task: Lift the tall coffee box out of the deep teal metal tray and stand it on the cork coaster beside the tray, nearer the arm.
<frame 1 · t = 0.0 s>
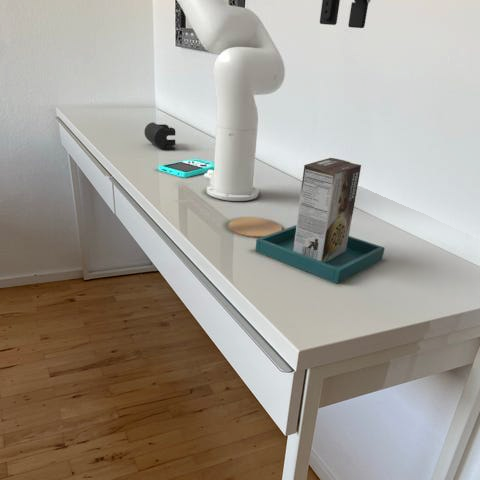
hand: (342, 26, 92), 37 cm above the table, tool pointing down, fingers open, 9 cm apart
tray: (318, 255, 93), on the table
handheld game console: (190, 170, 141), on the table
coffee box: (319, 254, 93), resting on tray
end cap: (159, 147, 164), on the table
coaster: (255, 227, 104), on the table
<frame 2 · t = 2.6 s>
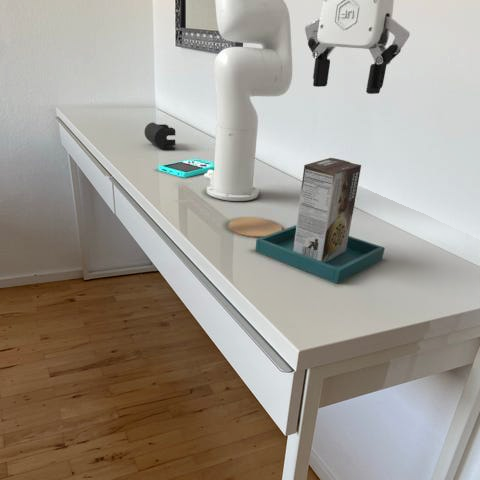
hand: (345, 89, 80), 28 cm above the table, tool pointing down, fingers open, 9 cm apart
nothing on the table moved.
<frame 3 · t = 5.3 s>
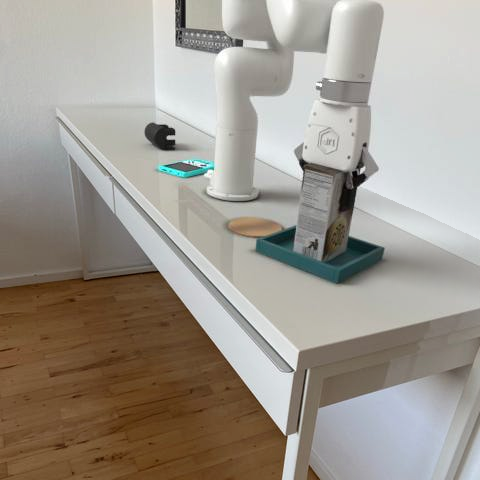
hand: (327, 203, 88), 10 cm above the table, tool pointing down, fingers closed on coffee box, 6 cm apart
coffee box: (319, 254, 93), resting on tray, touching gripper
everything else where it was.
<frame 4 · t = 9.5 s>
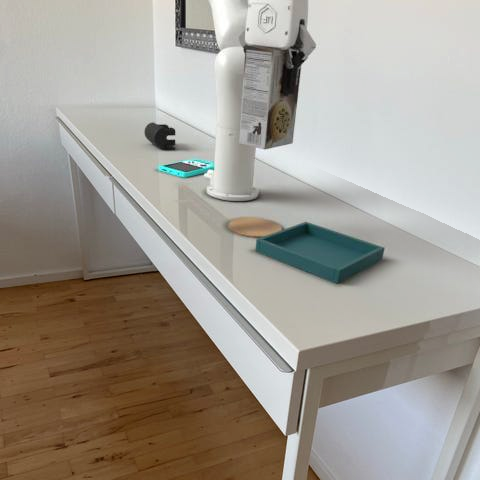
hand: (271, 90, 90), 26 cm above the table, tool pointing down, fingers closed on coffee box, 6 cm apart
coffee box: (265, 145, 95), point 16 cm above the table, touching gripper
everything else where it was.
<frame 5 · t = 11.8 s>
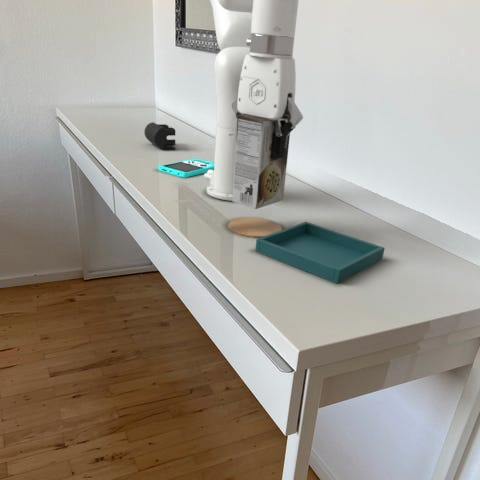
hand: (262, 153, 96), 15 cm above the table, tool pointing down, fingers closed on coffee box, 6 cm apart
coffee box: (257, 202, 101), point 5 cm above the table, touching gripper
everything else where it was.
when the fingers open (10 cm above the table, at t = 13.6 s): coffee box stays where it is, resting on coaster.
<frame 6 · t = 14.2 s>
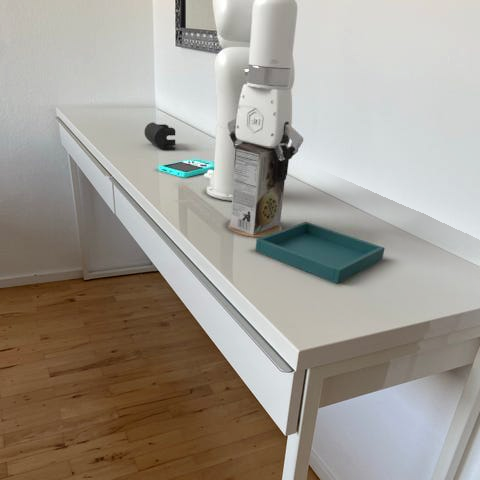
hand: (259, 175, 98), 11 cm above the table, tool pointing down, fingers open, 9 cm apart
coffee box: (255, 227, 103), resting on coaster
everything else where it was.
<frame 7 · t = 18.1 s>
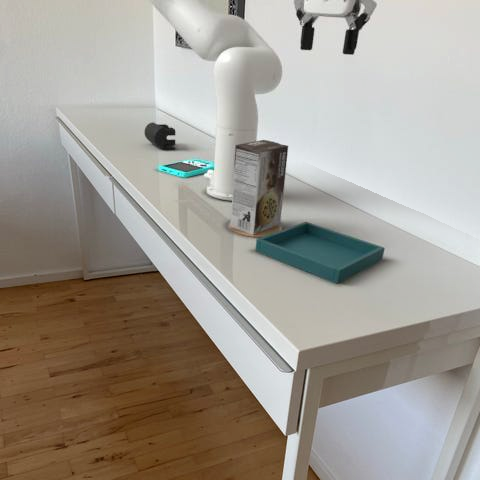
hand: (326, 52, 98), 32 cm above the table, tool pointing down, fingers open, 9 cm apart
nothing on the table moved.
at the end: coffee box inside the target area on the coaster (0.0 cm from its centre), point 0.1 cm above the coaster's base; coffee box touching coaster; coffee box tilted 0° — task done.
